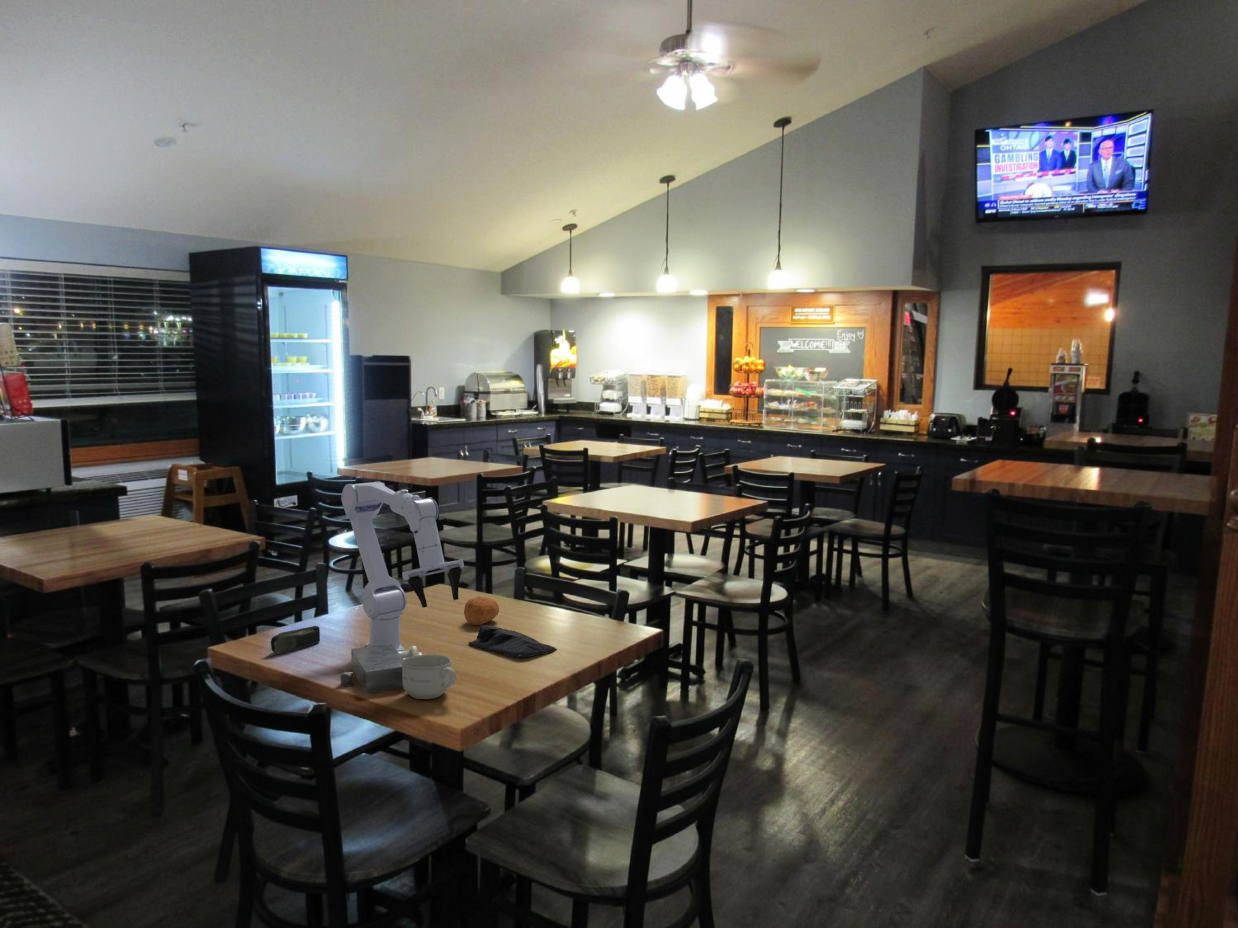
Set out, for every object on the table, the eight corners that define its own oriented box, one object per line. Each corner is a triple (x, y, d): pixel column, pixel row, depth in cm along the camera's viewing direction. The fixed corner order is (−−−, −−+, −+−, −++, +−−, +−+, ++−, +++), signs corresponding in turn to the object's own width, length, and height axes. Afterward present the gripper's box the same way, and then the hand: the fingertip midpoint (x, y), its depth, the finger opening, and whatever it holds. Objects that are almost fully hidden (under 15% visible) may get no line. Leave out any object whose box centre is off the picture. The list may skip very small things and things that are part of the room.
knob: (380, 663, 206) (380, 648, 206) (413, 659, 210) (413, 643, 210) (383, 669, 203) (383, 652, 202) (417, 664, 206) (417, 648, 206)
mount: (351, 668, 205) (351, 648, 204) (391, 662, 209) (391, 643, 208) (366, 693, 189) (366, 671, 188) (409, 686, 193) (408, 665, 193)
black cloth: (515, 665, 209) (515, 646, 209) (463, 645, 225) (463, 627, 224) (561, 652, 220) (561, 634, 220) (509, 633, 236) (509, 616, 235)
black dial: (339, 682, 195) (339, 672, 195) (352, 681, 196) (352, 670, 196) (341, 686, 193) (341, 675, 192) (354, 685, 194) (354, 674, 194)
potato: (455, 623, 243) (455, 598, 242) (484, 615, 252) (483, 590, 251) (478, 629, 237) (478, 603, 236) (506, 620, 246) (506, 595, 245)
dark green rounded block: (315, 623, 225) (264, 636, 213) (322, 625, 224) (271, 638, 211) (315, 641, 226) (264, 655, 213) (322, 643, 224) (271, 657, 212)
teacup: (393, 694, 189) (392, 659, 188) (435, 682, 196) (434, 648, 195) (426, 712, 179) (426, 675, 178) (469, 698, 186) (469, 663, 185)
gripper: (402, 552, 197) (414, 609, 195) (462, 539, 203) (474, 595, 202) (396, 555, 203) (408, 611, 201) (454, 543, 209) (466, 597, 208)
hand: (440, 603), depth 202 cm, fingers open, 7 cm apart
